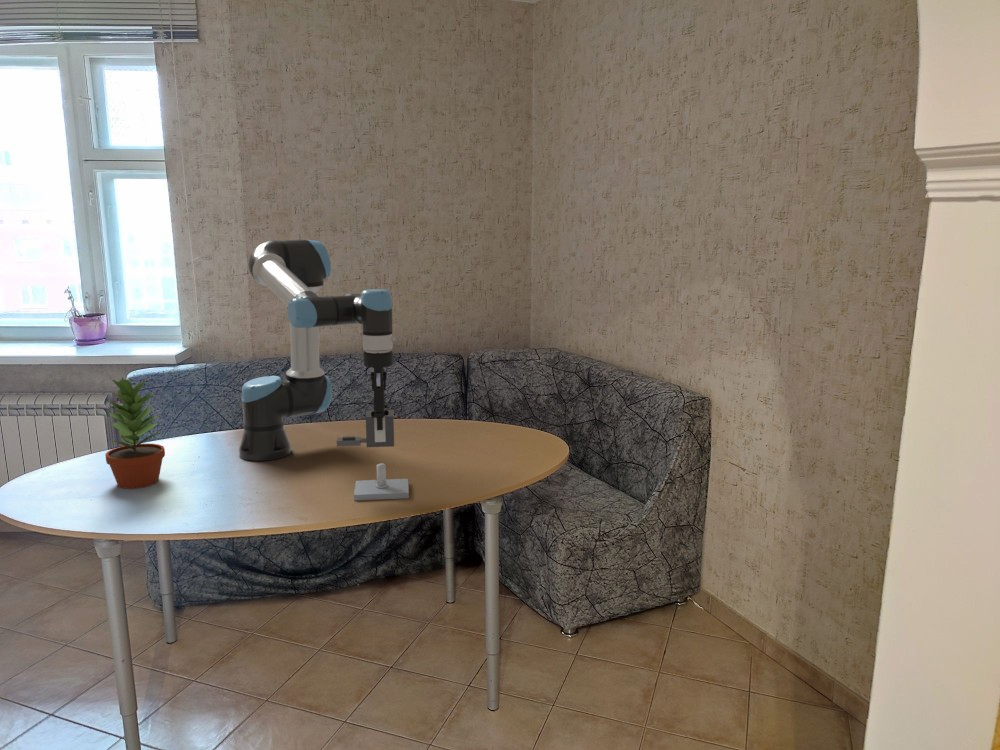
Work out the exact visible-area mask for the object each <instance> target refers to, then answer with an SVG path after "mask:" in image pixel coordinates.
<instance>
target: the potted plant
mask: <svg viewBox="0 0 1000 750" xmlns="http://www.w3.org/2000/svg"><path fill="white" fill-rule="evenodd" d="M109 379H111V381H112V382H113V383H114V384H115V385H116V386H117V388H119V389H118V390H117V393H115V397H117V398H118V399H120V402H121V404H122V405H120V404H119V403H116V402H114V401H107V400H106V402H107V403H109V404H110V405H112V406H113V407H115V408H112V407H111V409H112V411H114V412H116V413H110V412H108V411H107V414H108V415H109V416H110V417H111V418H112V419H114V420H116V421H117V422H115V421H112V423H113V424H112V426H113V427H114V428H115V429H116V430H118V434H119V435H118V436H119V437H121V438H122V439H123V440H124V441H121V440H115V439H110V438H109V440H111V441H113V442H115V443H117V444H119V445H122V446H119V447H115V448H112V449H110V450H108V451H106V453H105V461H106V464H107V465H109V467H110V469H111V472H112V474H113V477H114V479H115V482H116V485H117V486H118V487H119V488H121V489H127V488H128V490H129V489H131V490H133V489H141V488H145V487H146V488H147V487H150V486H152V484H153V485H155V484H157V483H158V482H157V481H159V479H160V473H161V469H162V464H163V463H162V462H163V459H164V457H165V456H166V452H165V447H164V446H163V445H161V444H158V443H157V444H156V443H145V442H146V441H148V440H150V439H151V438H153V437H155V436H156V435H159V432H155V433H152V434H151V435H149V436H147V437H146V438H143V440H140V437H142V436H143V435H144V434H146V433H147V432H149V431H151V430H152V429H153V428H154V427H156V426H157V425H158V424H159V422H156V423H151V422H153V421H155V419H157V418H158V417H159V416H160V414H158V415H156V416H149V414H150V412H152V410H151V408H152V407H149V406H150V405H151V404H152V401H154V399H152V401H151V402H149V403H148V404H146V405H147V406H145V408H144V409H143V410H142V408H143V405H144V404H145V402H147V401H148V400H149V399H150V398H151V397H152V396H154V395H155V394H156V393H157V391H156V392H154V393H149V394H147V395H144V396H143V397H142V395H139V394H138V393H139V392H140V391H141V389H142V388H143V386H144V385H145V383H146V381H147V380H144V381H143V382H140V383H139V384H137V385H135V387H134V388H133V384H132V383H131V381H130V380H128V379H124V377H122V376H121V379H120V380H119V381H116V380H115V379H112V377H109Z"/></svg>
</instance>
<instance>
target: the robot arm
mask: <svg viewBox="0 0 1000 750" xmlns="http://www.w3.org/2000/svg"><path fill="white" fill-rule="evenodd" d="M247 263H248V269H249V270H248V271H249V273H250V275H251V277H252V278H253V279H254V280H255V281H256V282H257V283H258V284H259V285H261V286H264V287H265V286H266V287H267V288H268V289H269V290H270V291H271V292H272V293H273V294H274V295H275V296H276V297H277V298H278V299H279V300H280V301H281V302H282V303H283V304H284V305H285V307H287V316H288V320H289V333H290V335H289V336H290V338H289V340H290V342H289V343H290V368H289V369H287V370H286V372H285V376H286V378H285V379H282V377H280V376H277V375H270V376H267V375H265V376H261V377H256V378H253V379H250V380H248V381H246V382H245V383H244V384H243V385H242V387H241V399H240V400H241V403H242V405H241V406H242V419H243V420H242V421H243V434H242V436H241V440H240V444H239V448H238V454H239V455H238V456H239V458H240V459H242V460H246V461H253V462H265V461H273V460H278V459H283V458H284V457H287V456H290V454H291V451H292V450H291V449H292V448H291V447H292V446H291V442H290V440H289V438H288V435H287V433H286V430H285V427H284V426H285V425H284V419H285V418H294V417H300V416H307V415H315V414H318V413H322V412H325V411H326V410H327V409H328V408H329V407H330V405H331V401H332V398H333V397H332V396H333V387H332V383H331V379H330V378H329V377H328V376H327V375H325V374H326V373H325V371H324V370H323V368H322V367H320V327H330V326H342V325H343V326H344V325H345V326H346V325H356V324H357V325H362V349H363V350H364V352H363V359H362V360H363V366H364V367H366V368H372V369H373V371H371V373H370V380H371V390H372V391H373V410H374V415H372V418H374V428H375V442H386V435H385V413H384V410H386V409H388V407H389V405H388V404H386V399H385V395H386V394H385V392H386V390H387V380H388V379H387V376H388V375H387V371H385V369H384V368H388V367H389V368H390V367H392V366H393V365H394V352H393V351H392V349H393V342H395V341H396V337H394V336H393V303H392V302H393V301H392V293H391V291H390V290H388V289H382V288H381V289H380V288H371V289H365V290H363V291H362V292H361V294H360V293H357V292H356V293H348V294H345V295H334V296H332V295H331V296H326V295H325V296H319V291H320V290H321V289H322V288H323V287H324V285H325V284H324V280H326V279H328V278H329V277H330V275H331V274H330V273H331V272H332V263H331V256H330V255H329V252H328V249H327V248H326V246H325V245H324V244H323V243H322V241H319V240H313V239H288V240H287V239H285V240H284V239H282V240H281V239H280V240H277V239H276V240H274V239H273V240H268V241H264V242H262V243H260V244H259V245H258V246H256V247H255V248H254V249H253V250H252V251H251V253H250V256H249V258H248V262H247Z"/></svg>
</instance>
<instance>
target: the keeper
mask: <svg viewBox="0 0 1000 750" xmlns="http://www.w3.org/2000/svg"><path fill="white" fill-rule="evenodd" d="M409 491H410V490H409V478H391V479H387V463H383V462H382V463H381V462H380V463H378V464H376V479H369V480H367V479H366V480H365V479H364V480H363V479H362V480H355V485H354V490H353V501H373V500H394V499H395V500H397V499H398V500H399V499H410V494H409V493H410V492H409Z"/></svg>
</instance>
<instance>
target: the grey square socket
mask: <svg viewBox="0 0 1000 750" xmlns="http://www.w3.org/2000/svg"><path fill="white" fill-rule="evenodd" d="M394 411H395V410H394V409H385V410H384V413H385V435H386V442H375V428H374V418H372V415H374V409H372V410H367V409H366V413H365V432H366V433H365V436H366V437H362V436H355V435H354V436H353V435H351V436H342V437H337V439H336V447H353V446H354V447H355V446H362V444H366V448H387V447H388V448H389V447H395V416H394V414H395V413H394Z"/></svg>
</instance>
